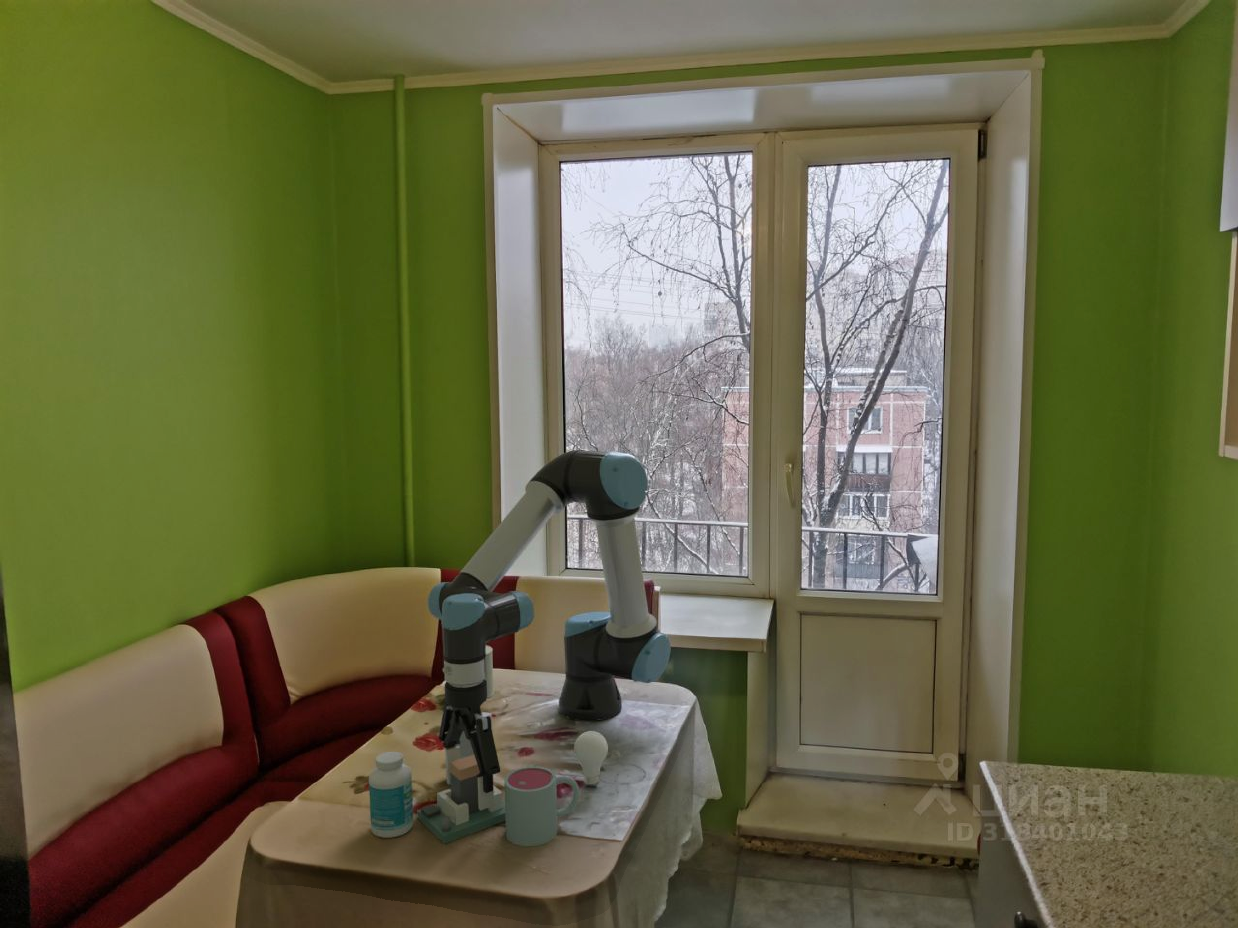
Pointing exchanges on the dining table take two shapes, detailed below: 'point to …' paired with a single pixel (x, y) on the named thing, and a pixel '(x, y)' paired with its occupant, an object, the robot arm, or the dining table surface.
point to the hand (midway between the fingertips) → (469, 793)
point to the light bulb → (591, 755)
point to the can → (489, 672)
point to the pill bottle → (390, 796)
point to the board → (459, 816)
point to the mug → (534, 804)
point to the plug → (465, 782)
